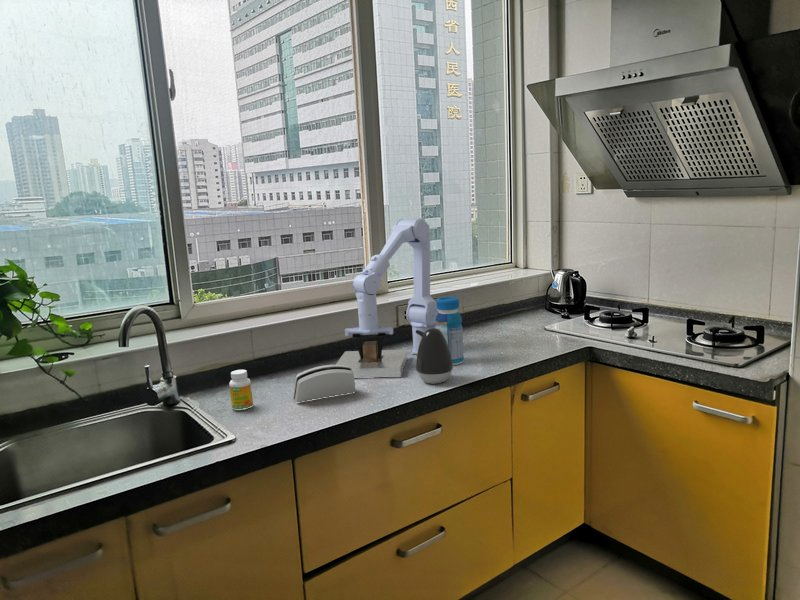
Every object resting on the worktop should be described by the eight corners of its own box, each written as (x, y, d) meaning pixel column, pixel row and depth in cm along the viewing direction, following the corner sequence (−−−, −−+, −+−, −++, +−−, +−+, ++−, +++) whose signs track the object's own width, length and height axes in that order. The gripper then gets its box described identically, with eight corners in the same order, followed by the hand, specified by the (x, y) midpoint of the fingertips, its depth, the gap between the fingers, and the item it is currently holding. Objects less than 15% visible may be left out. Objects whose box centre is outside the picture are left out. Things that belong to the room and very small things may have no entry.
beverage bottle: (463, 366, 180) (460, 300, 176) (435, 366, 182) (431, 301, 178) (465, 358, 188) (462, 295, 184) (438, 358, 190) (435, 296, 186)
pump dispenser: (427, 374, 175) (424, 323, 172) (459, 377, 169) (457, 325, 167) (409, 384, 166) (406, 331, 163) (443, 388, 161) (440, 333, 158)
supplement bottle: (231, 412, 152) (227, 376, 151) (232, 405, 158) (228, 370, 156) (253, 409, 154) (249, 373, 152) (253, 403, 159) (249, 367, 157)
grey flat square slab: (407, 358, 192) (406, 349, 192) (400, 377, 173) (400, 367, 172) (345, 360, 194) (345, 351, 194) (332, 379, 175) (331, 369, 174)
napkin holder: (351, 387, 166) (352, 357, 162) (356, 397, 163) (357, 367, 158) (291, 398, 161) (290, 367, 156) (295, 409, 157) (294, 378, 152)
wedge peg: (379, 366, 186) (377, 341, 184) (377, 370, 182) (375, 344, 180) (366, 366, 186) (364, 341, 185) (364, 370, 182) (362, 344, 181)
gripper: (341, 317, 178) (345, 362, 180) (390, 315, 176) (393, 360, 178) (346, 312, 184) (349, 355, 187) (392, 311, 183) (395, 354, 185)
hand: (371, 357), depth 183 cm, fingers open, 5 cm apart
